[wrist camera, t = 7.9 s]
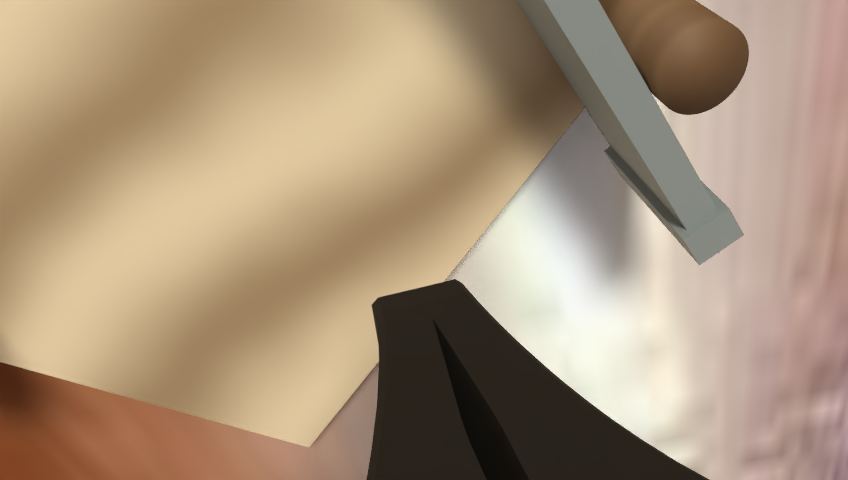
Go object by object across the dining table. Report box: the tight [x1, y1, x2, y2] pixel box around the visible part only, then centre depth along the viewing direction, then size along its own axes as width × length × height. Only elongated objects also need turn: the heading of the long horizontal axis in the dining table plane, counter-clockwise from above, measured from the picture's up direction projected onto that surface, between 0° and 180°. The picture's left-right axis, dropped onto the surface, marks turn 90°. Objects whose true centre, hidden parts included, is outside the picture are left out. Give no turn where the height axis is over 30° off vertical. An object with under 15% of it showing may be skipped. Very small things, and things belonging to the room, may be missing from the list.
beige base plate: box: [0, 0, 749, 447], centre depth 15 cm, size 20×20×6 cm
